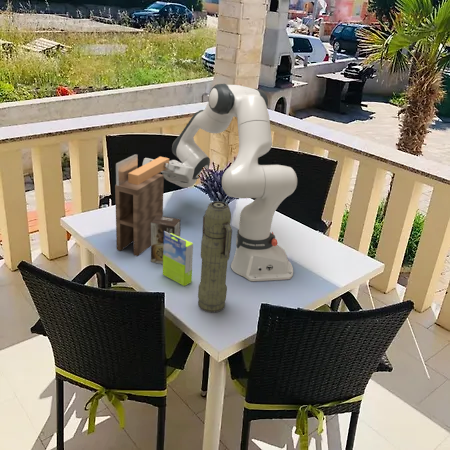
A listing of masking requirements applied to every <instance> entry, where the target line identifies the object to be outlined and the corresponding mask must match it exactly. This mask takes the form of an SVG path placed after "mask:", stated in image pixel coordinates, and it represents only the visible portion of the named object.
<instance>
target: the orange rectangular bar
mask: <svg viewBox="0 0 450 450" xmlns="http://www.w3.org/2000/svg"><path fill="white" fill-rule="evenodd" d="M169 161H170V158H168V157H166V156H165V157H164V156H158V157H157V158H155V159H154V160H153V161H151V162H149V163H147V164H145V165H143V166H142V165H141V166H139V167H138V168H137V169H135V170H134V171H132V172H130V173H128V183H132V184H136V185H139V184H140V183H142V182H144V181H146V180H147V179H149V178H151V177H153V176H154V175H156V174H161V173H162V172H161V171H163V170H165V169H167V168H164V167H163V165H164V163H168V164H169Z"/></svg>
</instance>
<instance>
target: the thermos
mask: <svg viewBox="0 0 450 450" xmlns="http://www.w3.org/2000/svg"><path fill="white" fill-rule="evenodd" d="M204 213H205V214H204V215H203V216H202V237H201V242H200V243H201V245H200V258H201V266H200V267H201V269H200V271H201V272H200V282H199V284H198V290H197V299H198V301H197V305H198V308H199V309H201V310H202V311H204V312H207V313H218V312H221V311H223V310H224V309H225V306H226V301H227V300H226V299H227V295H228V294H227V293H228V291H227V290H228V286H227V272H228V261H229V260H230V256H231V247H232V236H233V228H232V225H231V218H232V212H231V209H230V206H229V204H228V203H226V202H224V201H220V200H219V201H217V200H216V201H212V202H210V203H209V204H208V206H207V207H206V210H205V212H204Z"/></svg>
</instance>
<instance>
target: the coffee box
mask: <svg viewBox="0 0 450 450" xmlns="http://www.w3.org/2000/svg"><path fill="white" fill-rule="evenodd" d="M164 231H166V232H168V233H172V234H174V235H176V236H179V237H181V219H180V218H174V217H170V216H169V217H168V216H164V215H163V216H158V215H157V216H156V217H155V219H154V220H153V221H152V222H151V246H150V262H151V263H155V264H160V265H163V246H164Z"/></svg>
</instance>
